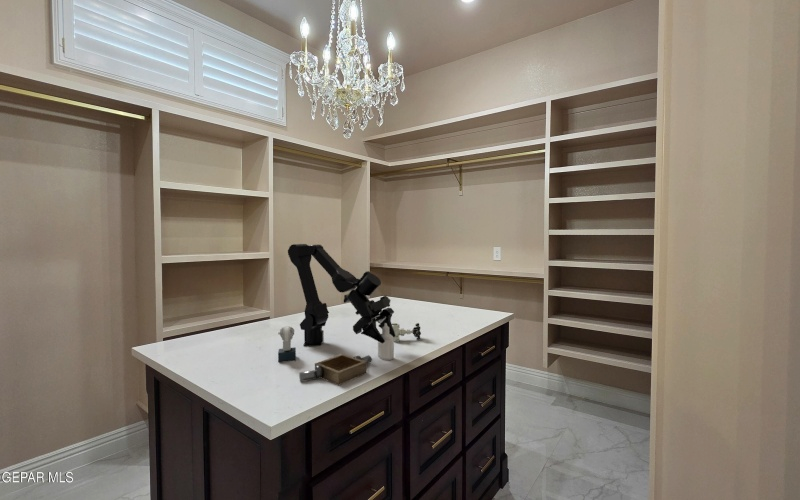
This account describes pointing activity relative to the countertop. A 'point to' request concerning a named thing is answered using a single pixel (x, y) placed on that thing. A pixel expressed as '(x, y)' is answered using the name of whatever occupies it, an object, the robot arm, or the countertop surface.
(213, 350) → the countertop surface
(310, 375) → the output shaft
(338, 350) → the countertop surface
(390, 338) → the white bottle
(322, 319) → the robot arm
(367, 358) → the input shaft
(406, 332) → the valve
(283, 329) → the rubber stamp
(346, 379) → the square brown wooden tray
